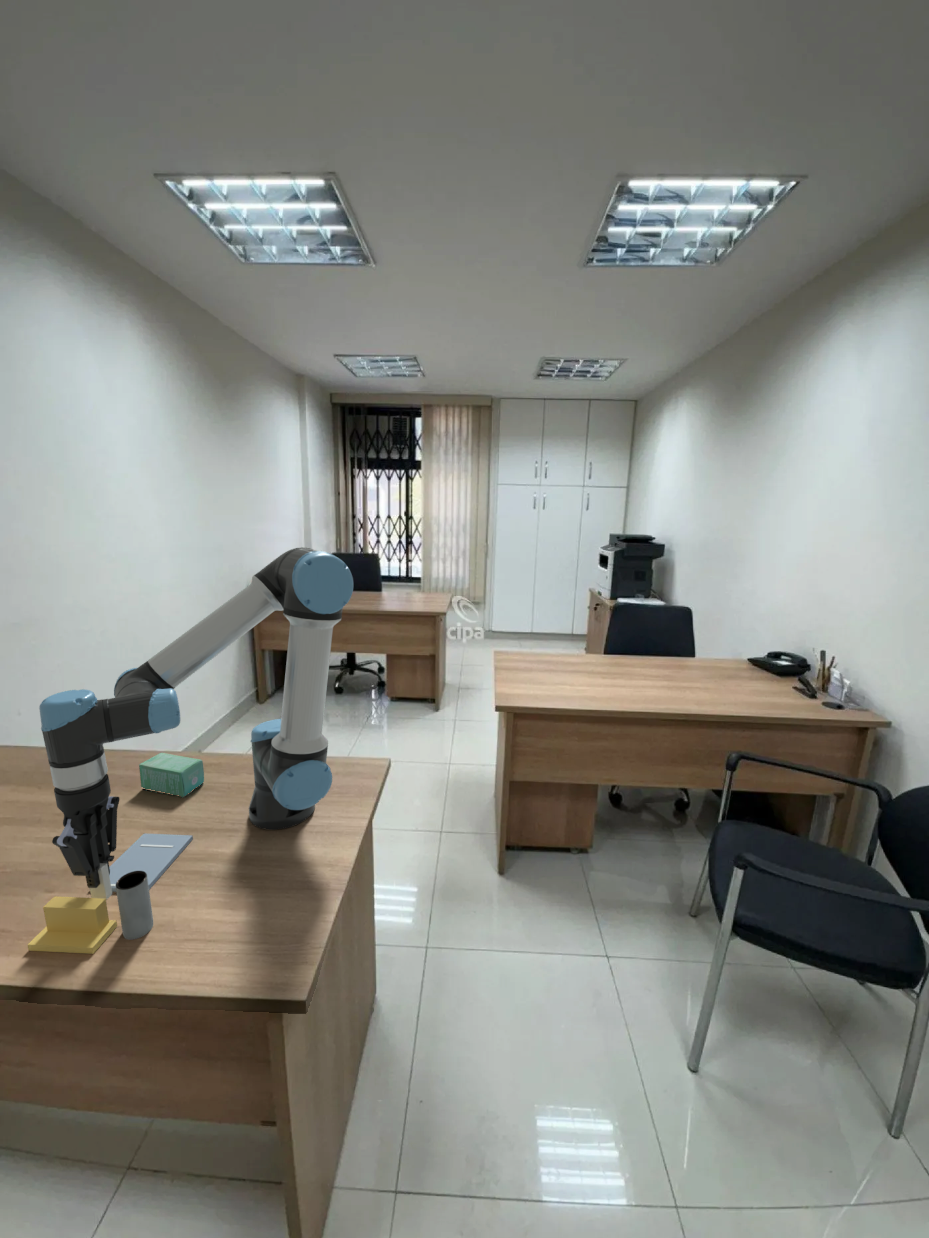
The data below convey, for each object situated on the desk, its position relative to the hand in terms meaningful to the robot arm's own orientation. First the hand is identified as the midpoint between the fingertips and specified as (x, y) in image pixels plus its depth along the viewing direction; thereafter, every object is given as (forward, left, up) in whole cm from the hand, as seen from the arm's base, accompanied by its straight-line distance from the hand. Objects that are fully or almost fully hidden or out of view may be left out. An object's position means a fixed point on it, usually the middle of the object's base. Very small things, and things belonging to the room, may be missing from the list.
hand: (102, 896), depth 92 cm
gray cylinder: (-9, +4, -3) cm, 10 cm away
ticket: (0, -12, -3) cm, 13 cm away
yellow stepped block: (0, +6, -3) cm, 7 cm away
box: (+12, -41, -3) cm, 43 cm away
